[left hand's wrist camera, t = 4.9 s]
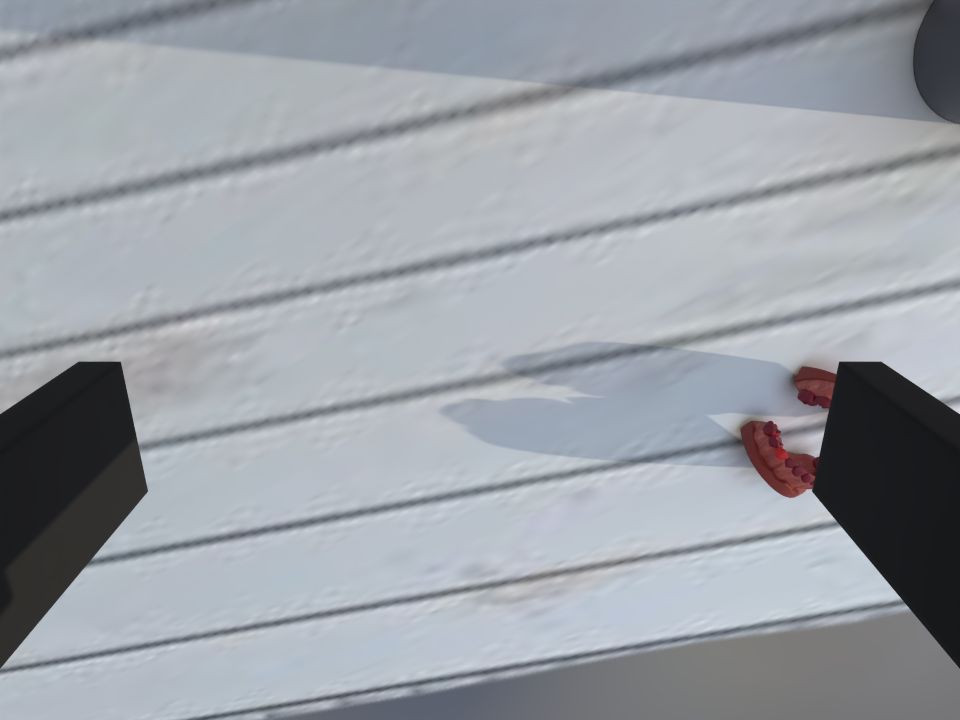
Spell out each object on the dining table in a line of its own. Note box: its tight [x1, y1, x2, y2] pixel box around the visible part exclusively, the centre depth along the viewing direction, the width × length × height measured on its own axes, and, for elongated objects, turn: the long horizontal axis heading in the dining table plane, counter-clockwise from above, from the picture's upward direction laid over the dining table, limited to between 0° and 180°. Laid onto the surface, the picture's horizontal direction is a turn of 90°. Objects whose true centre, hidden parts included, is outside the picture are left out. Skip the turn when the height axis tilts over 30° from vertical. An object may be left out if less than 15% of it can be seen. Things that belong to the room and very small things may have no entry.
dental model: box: [741, 366, 836, 498], centre depth 42 cm, size 6×4×8 cm
